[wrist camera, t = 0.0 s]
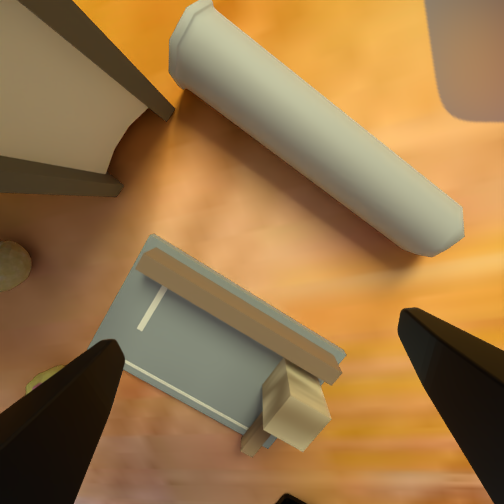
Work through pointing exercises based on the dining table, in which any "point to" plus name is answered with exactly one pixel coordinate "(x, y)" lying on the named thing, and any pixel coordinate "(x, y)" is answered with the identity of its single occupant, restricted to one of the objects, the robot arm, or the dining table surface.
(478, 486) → the dining table surface
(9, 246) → the hammer
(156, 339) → the board
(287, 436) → the wooden block with peg
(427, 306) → the dining table surface
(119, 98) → the book
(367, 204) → the tube
